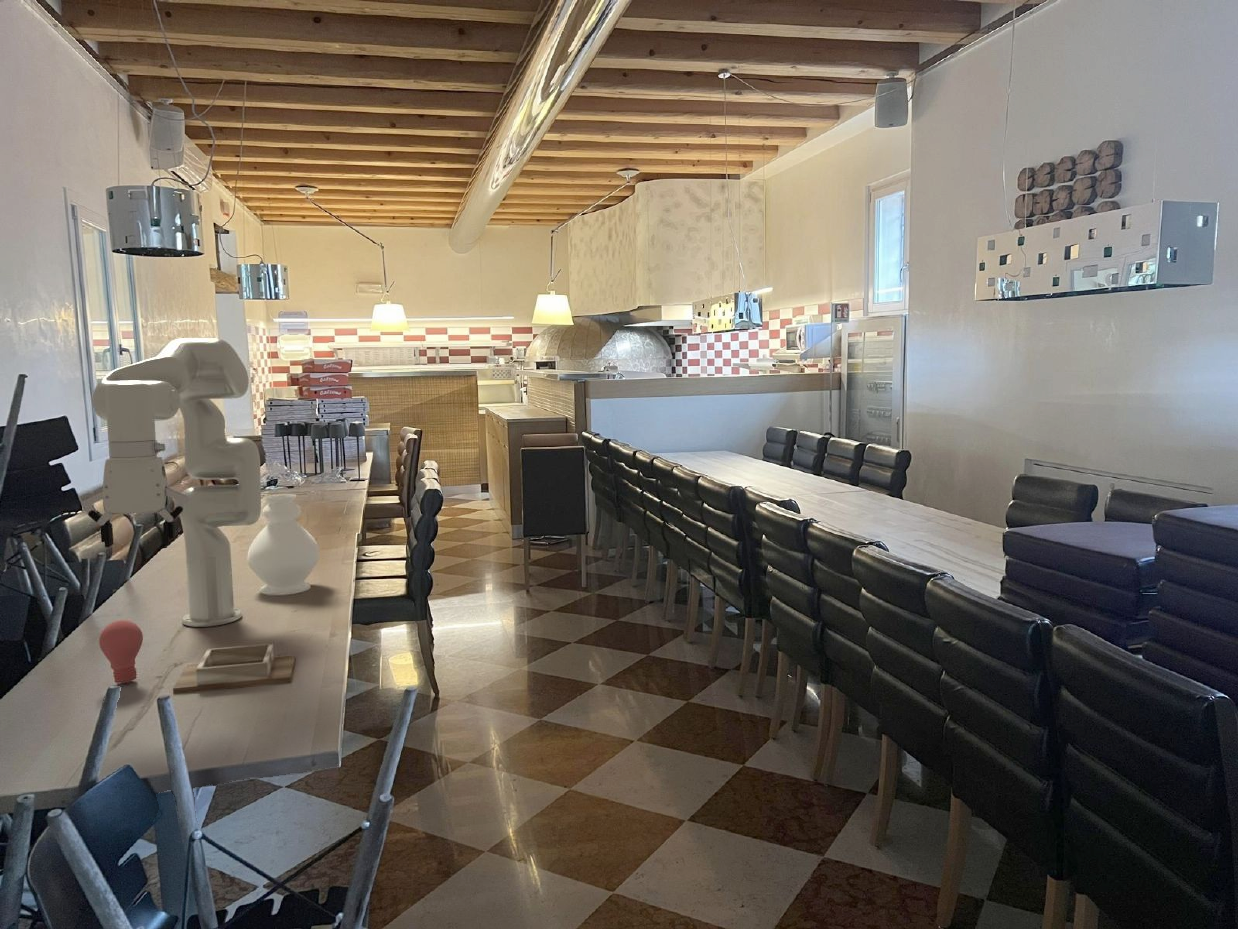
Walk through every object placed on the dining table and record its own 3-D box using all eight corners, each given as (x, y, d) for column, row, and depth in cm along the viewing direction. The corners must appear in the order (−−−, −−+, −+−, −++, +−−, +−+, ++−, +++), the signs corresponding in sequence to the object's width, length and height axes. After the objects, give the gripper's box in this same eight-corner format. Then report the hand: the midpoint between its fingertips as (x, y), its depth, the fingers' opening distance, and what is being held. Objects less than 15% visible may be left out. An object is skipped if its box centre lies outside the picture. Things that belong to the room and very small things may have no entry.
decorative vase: (319, 578, 246) (315, 489, 243) (322, 594, 229) (318, 498, 226) (250, 584, 239) (245, 493, 236) (248, 601, 223) (243, 503, 220)
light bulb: (97, 683, 166) (93, 621, 164) (139, 673, 171) (134, 613, 169) (108, 693, 161) (104, 629, 159) (151, 683, 166) (146, 621, 164)
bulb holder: (187, 669, 173) (186, 650, 172) (295, 660, 178) (294, 640, 178) (173, 693, 160) (171, 672, 160) (290, 682, 166) (289, 661, 165)
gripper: (189, 447, 165) (194, 537, 167) (84, 450, 160) (91, 543, 162) (182, 451, 158) (187, 545, 160) (72, 454, 153) (79, 551, 155)
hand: (138, 544), depth 161 cm, fingers open, 9 cm apart
